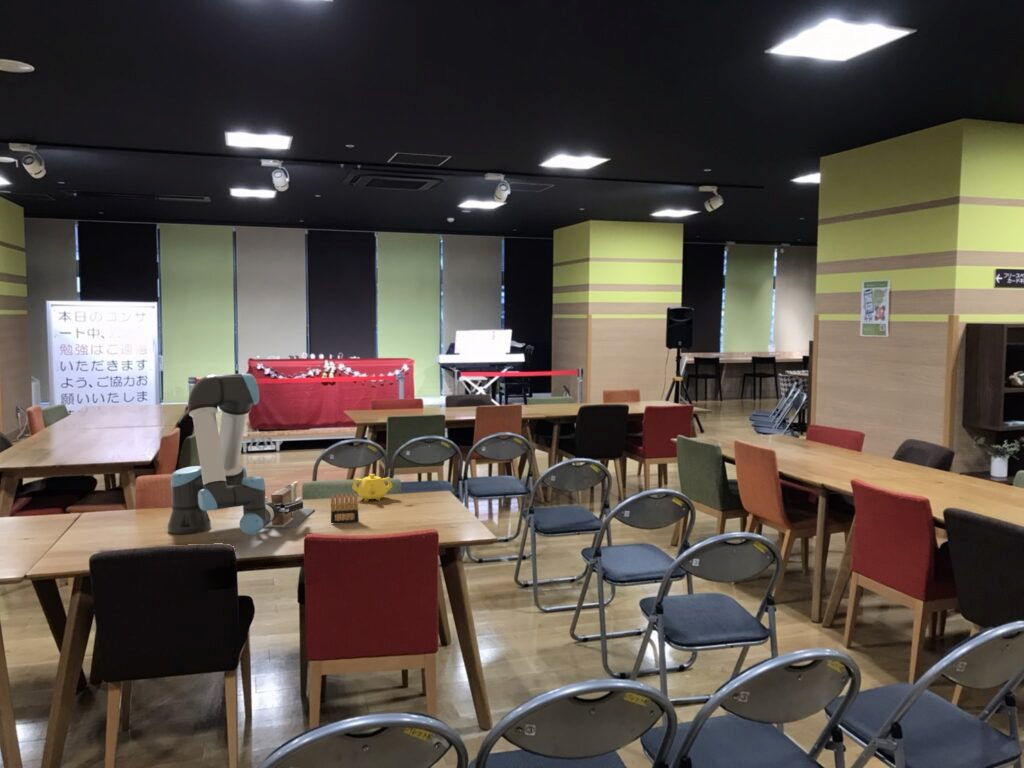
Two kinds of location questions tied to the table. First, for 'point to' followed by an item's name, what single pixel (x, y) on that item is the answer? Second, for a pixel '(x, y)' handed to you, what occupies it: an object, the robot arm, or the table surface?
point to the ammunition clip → (344, 509)
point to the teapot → (372, 487)
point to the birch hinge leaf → (293, 493)
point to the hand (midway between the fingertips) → (283, 500)
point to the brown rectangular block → (283, 498)
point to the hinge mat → (293, 519)
